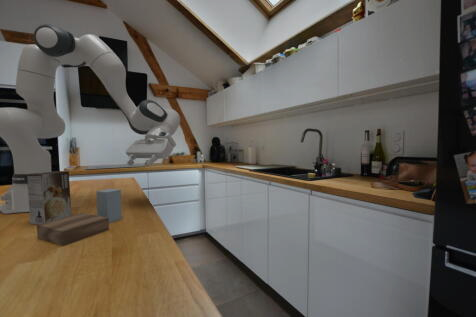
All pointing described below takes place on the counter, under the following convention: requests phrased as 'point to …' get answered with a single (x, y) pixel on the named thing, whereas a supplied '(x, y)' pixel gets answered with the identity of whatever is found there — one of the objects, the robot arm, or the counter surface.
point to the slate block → (109, 204)
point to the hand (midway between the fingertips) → (137, 164)
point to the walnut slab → (72, 228)
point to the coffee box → (48, 196)
